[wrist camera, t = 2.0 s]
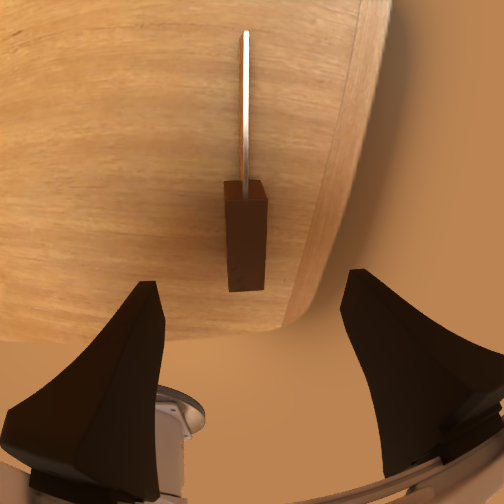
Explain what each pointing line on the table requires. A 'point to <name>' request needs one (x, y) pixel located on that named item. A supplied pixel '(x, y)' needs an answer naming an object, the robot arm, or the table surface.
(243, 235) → the knife
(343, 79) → the table surface
